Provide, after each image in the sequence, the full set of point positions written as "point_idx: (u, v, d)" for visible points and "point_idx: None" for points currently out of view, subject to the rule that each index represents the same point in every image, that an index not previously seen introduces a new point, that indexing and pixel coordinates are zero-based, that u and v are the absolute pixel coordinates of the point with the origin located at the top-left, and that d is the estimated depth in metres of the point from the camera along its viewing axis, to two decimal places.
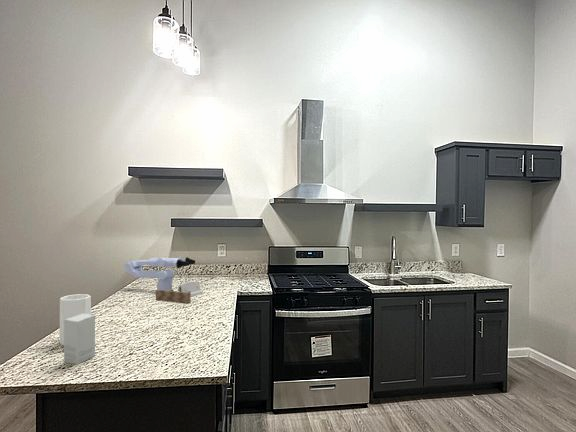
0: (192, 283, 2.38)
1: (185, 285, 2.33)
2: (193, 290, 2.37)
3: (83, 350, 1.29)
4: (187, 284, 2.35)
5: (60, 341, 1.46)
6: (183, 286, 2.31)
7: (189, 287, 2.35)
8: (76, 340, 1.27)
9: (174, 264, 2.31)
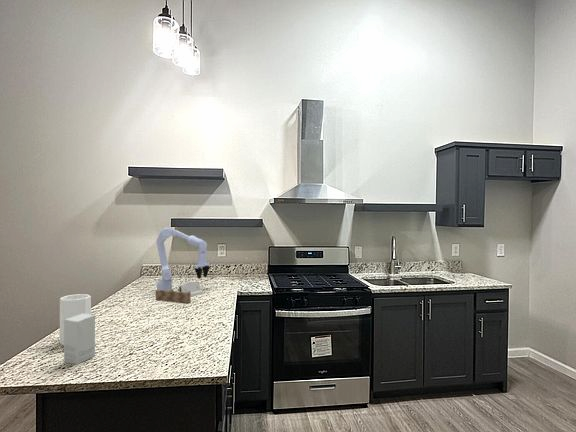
0: (192, 283, 2.38)
1: (185, 285, 2.33)
2: (193, 290, 2.37)
3: (83, 350, 1.29)
4: (187, 284, 2.35)
5: (60, 341, 1.46)
6: (183, 286, 2.31)
7: (189, 287, 2.35)
8: (76, 340, 1.27)
9: (196, 267, 2.43)
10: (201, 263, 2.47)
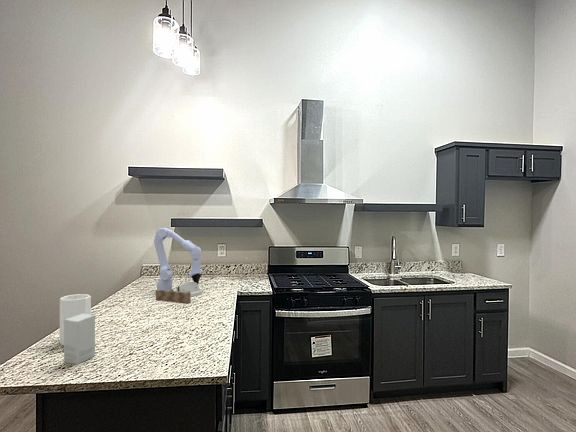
0: (190, 283, 2.36)
1: (183, 285, 2.31)
2: (191, 290, 2.35)
3: (83, 350, 1.29)
4: (185, 284, 2.33)
5: (60, 341, 1.46)
6: (181, 286, 2.29)
7: (187, 287, 2.33)
8: (76, 340, 1.27)
9: (189, 274, 2.36)
10: (195, 270, 2.40)
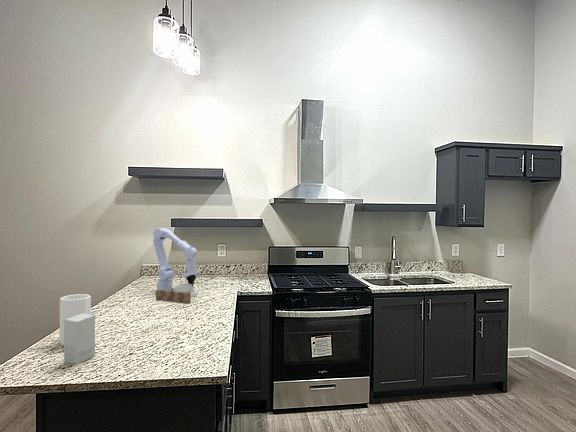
0: (185, 285, 2.31)
1: (178, 287, 2.26)
2: None
3: (83, 350, 1.29)
4: (180, 286, 2.27)
5: (60, 341, 1.46)
6: (175, 288, 2.24)
7: (182, 289, 2.28)
8: (76, 340, 1.27)
9: (184, 276, 2.31)
10: (190, 272, 2.35)
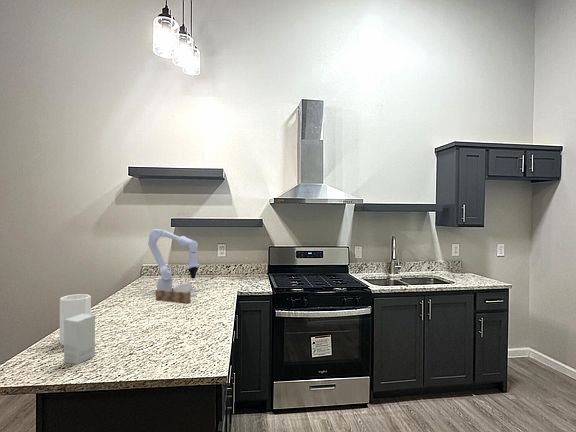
0: (185, 285, 2.31)
1: (178, 287, 2.26)
2: None
3: (83, 350, 1.29)
4: (180, 286, 2.27)
5: (60, 341, 1.46)
6: (175, 288, 2.24)
7: (182, 289, 2.28)
8: (76, 340, 1.27)
9: (186, 268, 2.40)
10: (192, 264, 2.44)
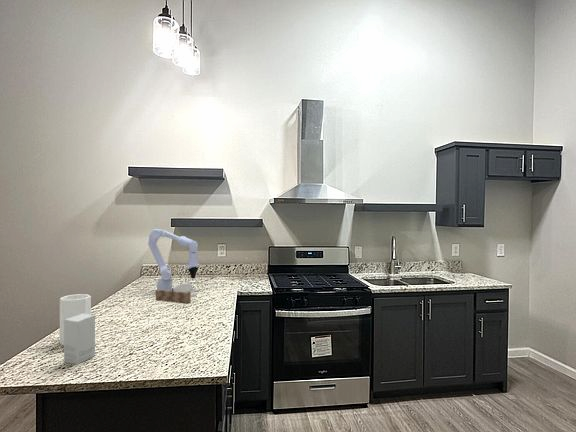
0: (185, 285, 2.31)
1: (178, 287, 2.26)
2: None
3: (83, 350, 1.29)
4: (180, 286, 2.27)
5: (60, 341, 1.46)
6: (176, 288, 2.24)
7: (182, 289, 2.28)
8: (76, 340, 1.27)
9: (186, 268, 2.40)
10: (192, 264, 2.44)
